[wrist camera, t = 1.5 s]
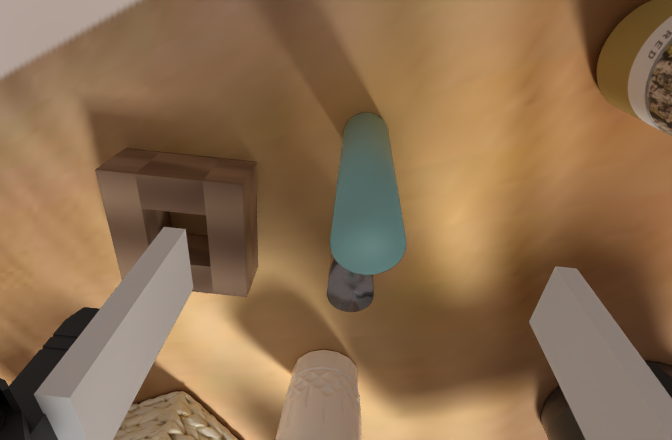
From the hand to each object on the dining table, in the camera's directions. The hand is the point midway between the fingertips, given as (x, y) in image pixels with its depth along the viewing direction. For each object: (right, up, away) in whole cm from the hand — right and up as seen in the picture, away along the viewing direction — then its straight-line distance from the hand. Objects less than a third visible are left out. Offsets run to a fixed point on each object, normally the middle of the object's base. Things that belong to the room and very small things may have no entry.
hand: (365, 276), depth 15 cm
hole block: (-13, +3, +18) cm, 22 cm away
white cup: (-2, -14, +28) cm, 31 cm away
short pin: (0, +1, +19) cm, 19 cm away
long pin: (+1, +8, +14) cm, 17 cm away
